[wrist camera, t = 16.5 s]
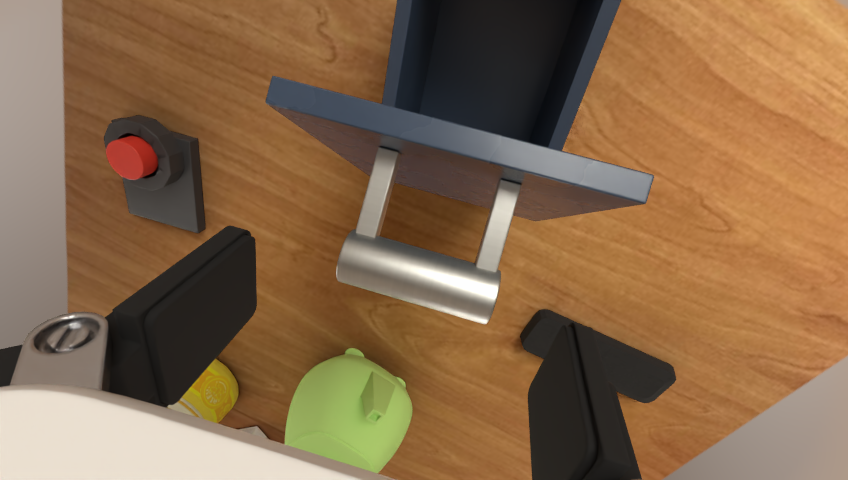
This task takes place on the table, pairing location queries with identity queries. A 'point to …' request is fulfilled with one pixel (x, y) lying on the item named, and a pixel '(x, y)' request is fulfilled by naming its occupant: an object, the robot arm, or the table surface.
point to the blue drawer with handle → (446, 191)
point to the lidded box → (497, 62)
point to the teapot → (349, 412)
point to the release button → (132, 157)
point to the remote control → (606, 358)
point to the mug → (210, 394)
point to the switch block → (164, 175)
